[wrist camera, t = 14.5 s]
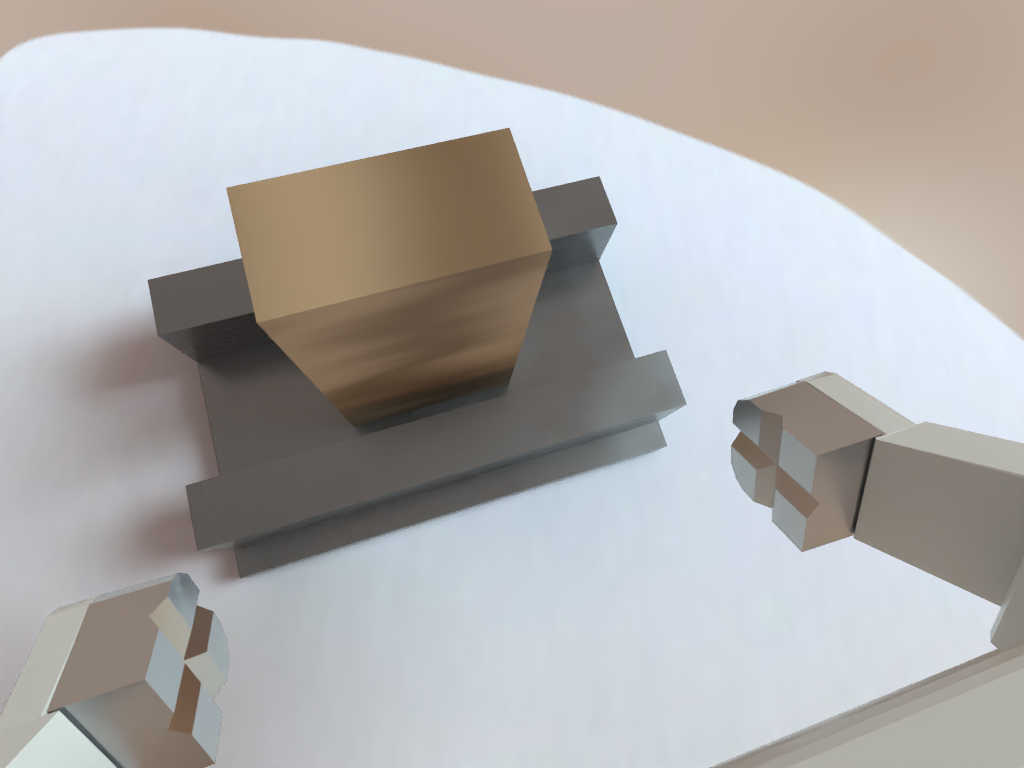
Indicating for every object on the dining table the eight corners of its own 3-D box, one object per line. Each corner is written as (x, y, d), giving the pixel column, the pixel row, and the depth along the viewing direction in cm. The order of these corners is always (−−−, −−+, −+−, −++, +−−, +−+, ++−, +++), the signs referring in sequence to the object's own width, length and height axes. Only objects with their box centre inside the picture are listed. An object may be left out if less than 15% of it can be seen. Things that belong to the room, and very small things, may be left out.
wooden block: (354, 427, 22) (256, 323, 11) (335, 352, 23) (226, 187, 12) (509, 383, 23) (552, 249, 12) (486, 312, 24) (509, 127, 13)
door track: (249, 576, 21) (203, 585, 18) (194, 299, 24) (142, 253, 20) (658, 449, 24) (697, 432, 20) (571, 210, 26) (590, 153, 22)
